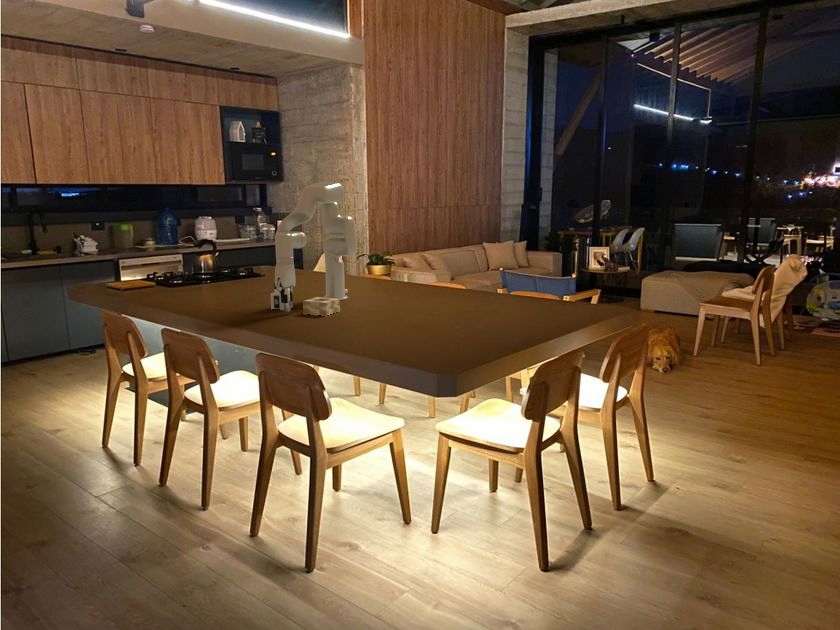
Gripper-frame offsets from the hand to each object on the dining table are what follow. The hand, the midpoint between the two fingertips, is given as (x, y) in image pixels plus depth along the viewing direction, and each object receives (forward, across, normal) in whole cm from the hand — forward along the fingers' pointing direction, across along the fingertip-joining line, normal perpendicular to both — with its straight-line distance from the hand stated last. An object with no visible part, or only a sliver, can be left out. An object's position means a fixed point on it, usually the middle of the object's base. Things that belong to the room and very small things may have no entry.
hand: (286, 301), depth 283 cm
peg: (+4, 0, 0) cm, 4 cm away
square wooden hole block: (+6, -10, +12) cm, 16 cm away
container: (+6, -12, -11) cm, 17 cm away
